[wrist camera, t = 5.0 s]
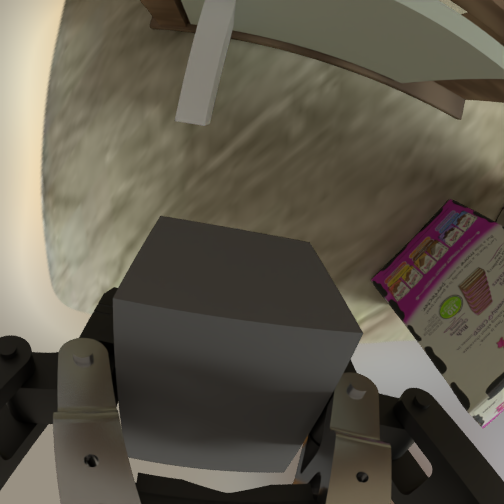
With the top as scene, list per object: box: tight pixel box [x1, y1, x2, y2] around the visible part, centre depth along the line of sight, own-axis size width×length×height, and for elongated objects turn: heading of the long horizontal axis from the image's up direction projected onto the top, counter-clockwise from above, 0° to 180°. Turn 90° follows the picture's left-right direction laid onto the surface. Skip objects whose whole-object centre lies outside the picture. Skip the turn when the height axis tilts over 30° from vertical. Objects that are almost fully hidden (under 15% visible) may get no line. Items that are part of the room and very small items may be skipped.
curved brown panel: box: [140, 0, 504, 120], centre depth 13 cm, size 26×4×15 cm, turn 77°
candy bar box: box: [371, 199, 504, 428], centre depth 20 cm, size 11×5×16 cm, turn 136°
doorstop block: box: [113, 216, 363, 472], centre depth 9 cm, size 5×6×5 cm
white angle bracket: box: [175, 0, 504, 126], centre depth 15 cm, size 16×8×12 cm, turn 77°
